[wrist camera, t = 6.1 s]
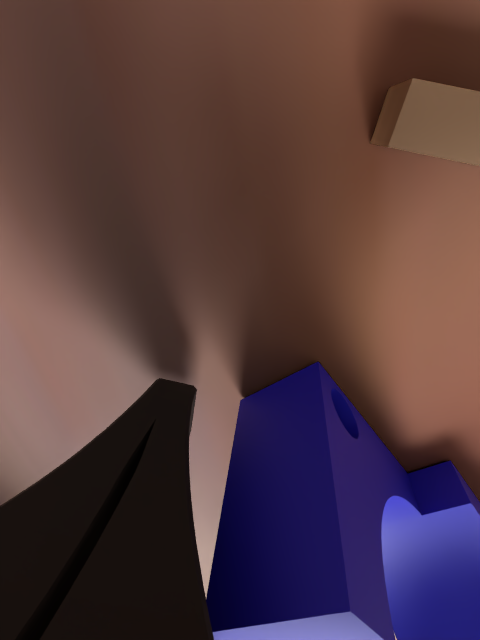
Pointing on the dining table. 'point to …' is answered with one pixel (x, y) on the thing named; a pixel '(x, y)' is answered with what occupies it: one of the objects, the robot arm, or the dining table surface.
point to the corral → (431, 121)
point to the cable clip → (338, 529)
